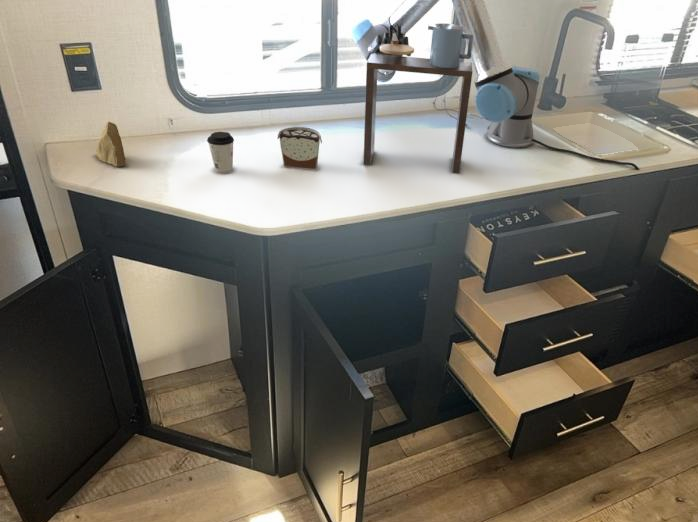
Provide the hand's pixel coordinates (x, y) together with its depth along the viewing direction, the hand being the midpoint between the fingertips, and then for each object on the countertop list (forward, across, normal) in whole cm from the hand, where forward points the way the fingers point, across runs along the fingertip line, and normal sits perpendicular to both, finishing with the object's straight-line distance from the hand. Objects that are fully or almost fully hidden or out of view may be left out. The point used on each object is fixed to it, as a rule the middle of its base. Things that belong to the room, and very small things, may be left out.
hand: (395, 31), depth 164 cm
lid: (-1, 0, -4) cm, 4 cm away
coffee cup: (-3, +47, -38) cm, 61 cm away
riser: (-11, -6, -34) cm, 36 cm away
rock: (-7, +78, -36) cm, 86 cm away
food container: (-8, +26, -35) cm, 45 cm away
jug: (+4, -13, -10) cm, 17 cm away
